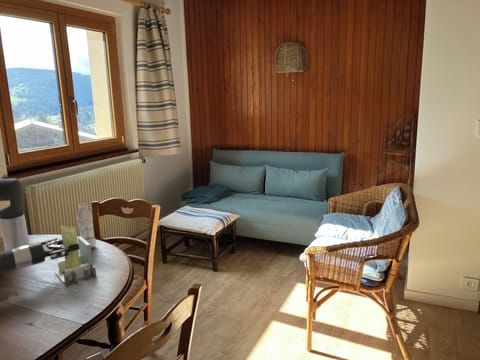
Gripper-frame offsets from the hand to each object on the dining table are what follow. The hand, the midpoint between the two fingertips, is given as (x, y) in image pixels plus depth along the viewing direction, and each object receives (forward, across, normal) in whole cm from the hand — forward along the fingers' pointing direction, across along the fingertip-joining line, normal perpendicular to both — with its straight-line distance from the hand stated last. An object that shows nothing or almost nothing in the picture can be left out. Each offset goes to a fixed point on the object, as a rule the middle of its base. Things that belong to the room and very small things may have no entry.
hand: (75, 242), depth 148 cm
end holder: (-1, 0, +12) cm, 12 cm away
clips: (-2, -8, +12) cm, 14 cm away
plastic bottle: (+11, +21, +12) cm, 27 cm away
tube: (-2, -1, +12) cm, 12 cm away
